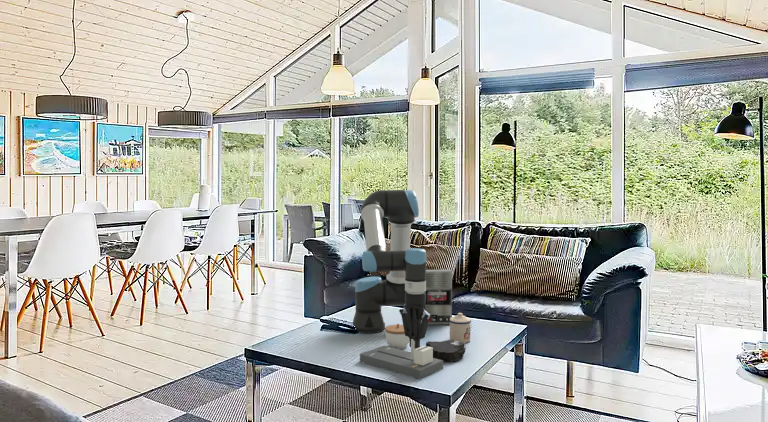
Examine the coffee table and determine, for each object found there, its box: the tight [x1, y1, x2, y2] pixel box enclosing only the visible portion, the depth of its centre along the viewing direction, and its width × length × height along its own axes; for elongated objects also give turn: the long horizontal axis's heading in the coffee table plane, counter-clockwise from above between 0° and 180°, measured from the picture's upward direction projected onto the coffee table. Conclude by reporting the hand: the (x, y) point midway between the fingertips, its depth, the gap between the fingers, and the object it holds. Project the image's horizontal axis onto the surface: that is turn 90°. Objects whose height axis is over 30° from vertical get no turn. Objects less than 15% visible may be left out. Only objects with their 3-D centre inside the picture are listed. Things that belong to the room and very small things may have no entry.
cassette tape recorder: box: [422, 269, 453, 326], centre depth 270 cm, size 14×6×25 cm, turn 92°
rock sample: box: [425, 339, 467, 363], centre depth 223 cm, size 18×16×5 cm
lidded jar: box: [384, 323, 410, 350], centre depth 234 cm, size 11×11×9 cm
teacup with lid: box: [449, 312, 472, 344], centre depth 244 cm, size 12×9×12 cm
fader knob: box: [414, 345, 433, 366], centre depth 205 cm, size 4×6×5 cm, turn 140°
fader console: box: [359, 345, 444, 380], centre depth 212 cm, size 28×14×3 cm, turn 50°
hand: (414, 356), depth 208 cm, fingers closed
